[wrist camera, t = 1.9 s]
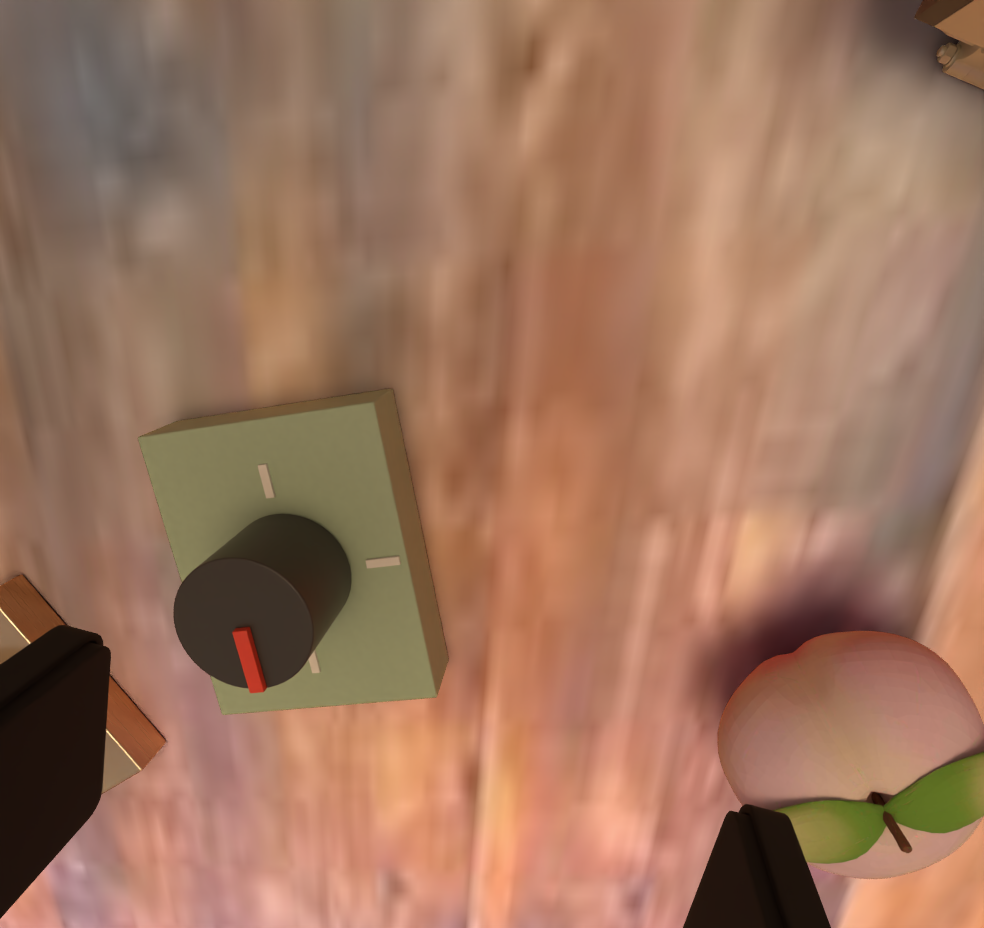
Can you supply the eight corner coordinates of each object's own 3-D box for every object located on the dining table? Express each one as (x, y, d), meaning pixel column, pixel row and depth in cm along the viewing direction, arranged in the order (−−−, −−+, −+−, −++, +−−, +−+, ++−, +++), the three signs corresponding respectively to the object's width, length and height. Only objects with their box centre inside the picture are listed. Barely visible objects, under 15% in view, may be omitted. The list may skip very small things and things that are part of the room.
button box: (-92, 656, 37) (-169, 703, 33) (22, 573, 35) (-46, 612, 31) (50, 811, 39) (-7, 871, 35) (167, 741, 37) (119, 797, 33)
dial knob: (216, 521, 29) (149, 570, 25) (336, 505, 29) (290, 553, 24) (248, 633, 31) (191, 700, 26) (364, 622, 30) (325, 688, 25)
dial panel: (176, 420, 32) (134, 438, 29) (393, 387, 30) (372, 402, 27) (250, 678, 35) (220, 717, 32) (449, 660, 34) (436, 700, 31)
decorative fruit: (759, 786, 34) (831, 998, 24) (669, 651, 32) (708, 819, 23) (957, 701, 31) (1124, 897, 22) (870, 551, 30) (1008, 691, 20)
